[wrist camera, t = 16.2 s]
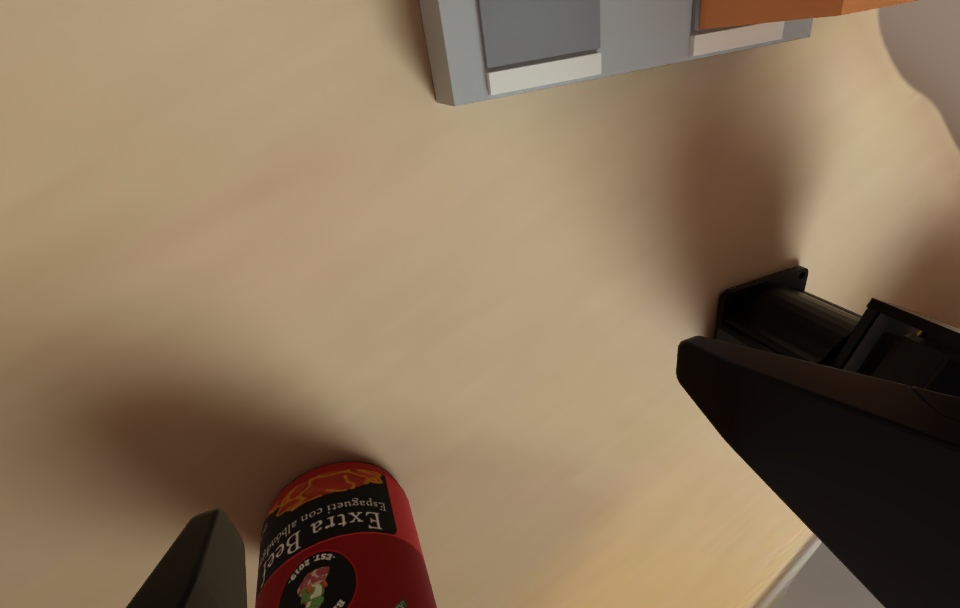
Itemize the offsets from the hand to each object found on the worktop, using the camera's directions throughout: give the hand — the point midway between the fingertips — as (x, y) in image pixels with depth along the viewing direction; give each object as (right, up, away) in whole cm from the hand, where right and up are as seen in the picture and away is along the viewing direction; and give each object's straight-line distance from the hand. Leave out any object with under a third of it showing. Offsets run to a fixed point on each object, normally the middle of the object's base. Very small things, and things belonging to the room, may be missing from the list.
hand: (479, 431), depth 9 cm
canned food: (-8, -9, +17) cm, 21 cm away
